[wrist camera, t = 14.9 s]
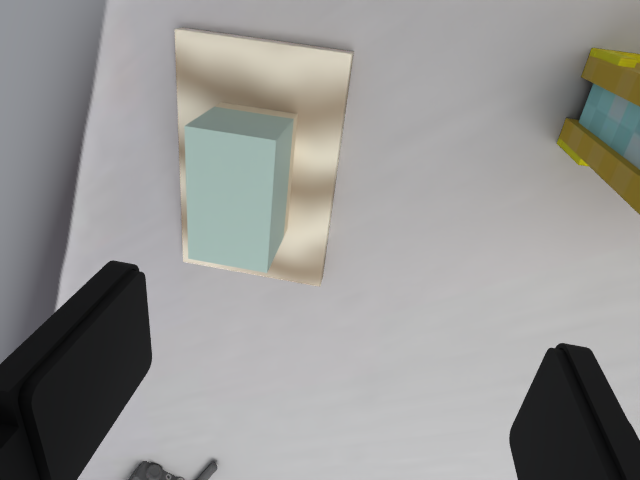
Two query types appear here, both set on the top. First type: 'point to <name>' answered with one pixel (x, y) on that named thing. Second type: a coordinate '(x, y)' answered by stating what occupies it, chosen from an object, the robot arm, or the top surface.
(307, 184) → the board
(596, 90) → the book
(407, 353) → the top surface
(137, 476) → the walkie-talkie
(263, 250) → the block
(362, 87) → the top surface
